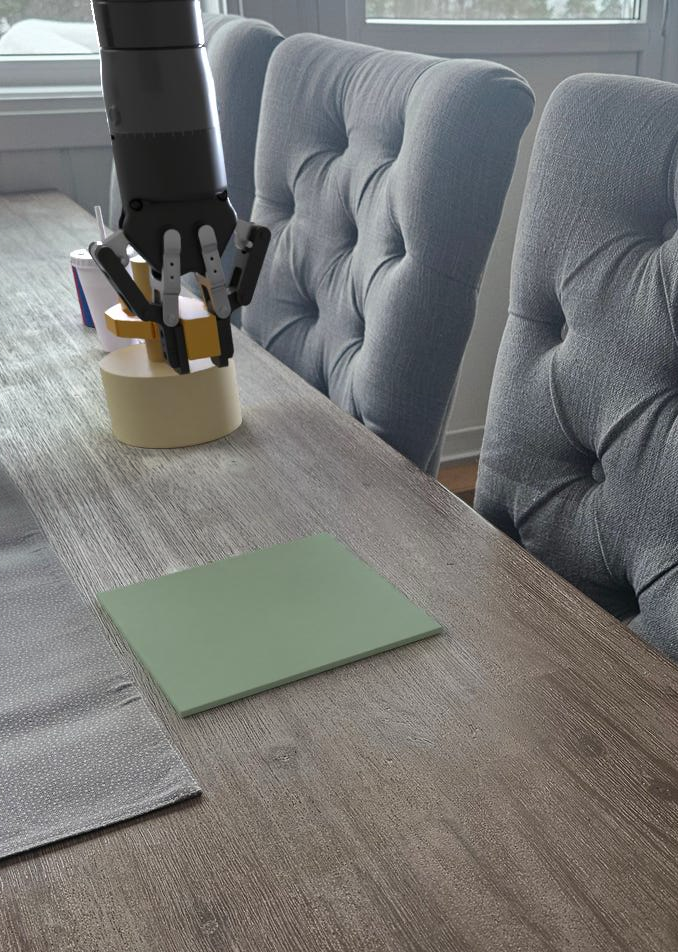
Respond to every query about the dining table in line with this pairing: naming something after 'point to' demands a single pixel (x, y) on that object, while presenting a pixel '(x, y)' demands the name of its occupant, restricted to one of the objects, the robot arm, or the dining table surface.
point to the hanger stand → (166, 392)
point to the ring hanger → (191, 316)
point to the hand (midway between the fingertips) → (200, 367)
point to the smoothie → (100, 291)
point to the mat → (261, 620)
